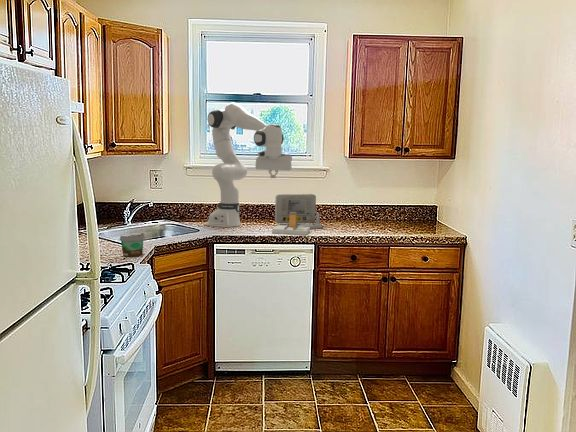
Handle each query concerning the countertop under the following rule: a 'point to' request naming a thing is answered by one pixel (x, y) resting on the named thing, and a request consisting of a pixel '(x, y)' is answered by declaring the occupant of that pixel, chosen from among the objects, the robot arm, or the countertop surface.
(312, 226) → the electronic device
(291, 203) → the network device
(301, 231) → the switch panel
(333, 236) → the countertop surface
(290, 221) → the switch tab
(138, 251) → the food container
